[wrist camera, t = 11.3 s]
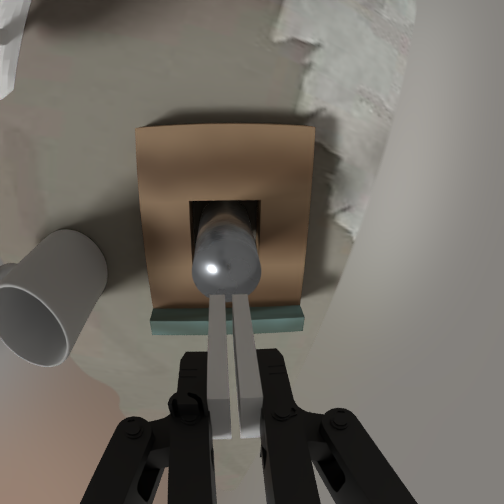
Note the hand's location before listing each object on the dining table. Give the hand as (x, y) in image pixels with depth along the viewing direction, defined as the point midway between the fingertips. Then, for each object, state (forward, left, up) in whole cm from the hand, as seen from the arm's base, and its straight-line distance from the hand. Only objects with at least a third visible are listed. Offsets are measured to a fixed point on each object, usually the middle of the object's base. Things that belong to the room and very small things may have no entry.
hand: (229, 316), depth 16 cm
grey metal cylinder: (0, 0, -14) cm, 14 cm away
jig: (0, 0, -14) cm, 14 cm away
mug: (+4, -18, -15) cm, 24 cm away
